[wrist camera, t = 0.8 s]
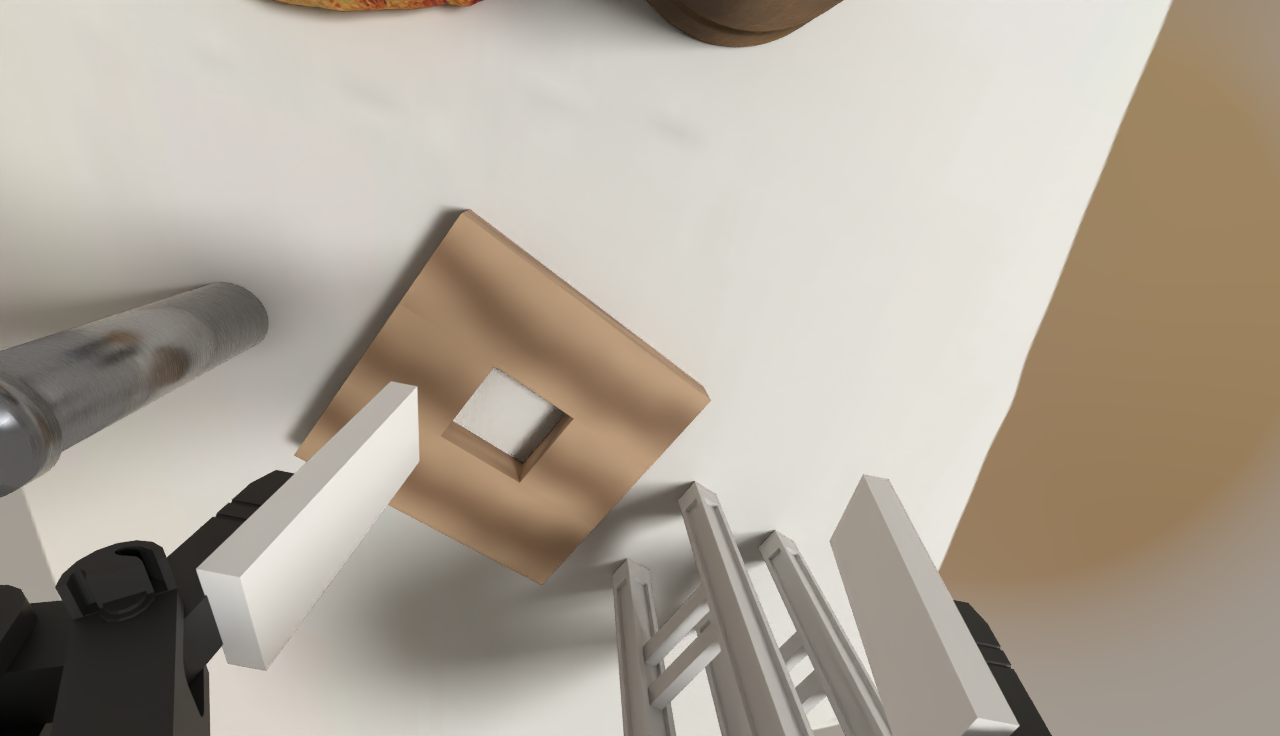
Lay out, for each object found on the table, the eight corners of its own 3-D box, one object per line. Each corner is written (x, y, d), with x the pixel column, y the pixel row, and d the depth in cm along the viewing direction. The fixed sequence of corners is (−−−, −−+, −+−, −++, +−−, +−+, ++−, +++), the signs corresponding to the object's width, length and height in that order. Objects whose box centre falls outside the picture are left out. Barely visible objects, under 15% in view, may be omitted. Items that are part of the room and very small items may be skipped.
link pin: (207, 258, 32) (-124, 341, 17) (289, 309, 33) (54, 426, 18) (170, 323, 33) (-169, 453, 18) (252, 369, 34) (2, 524, 20)
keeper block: (470, 209, 32) (461, 212, 30) (703, 386, 38) (710, 400, 36) (312, 436, 36) (294, 455, 34) (543, 562, 43) (541, 585, 40)
